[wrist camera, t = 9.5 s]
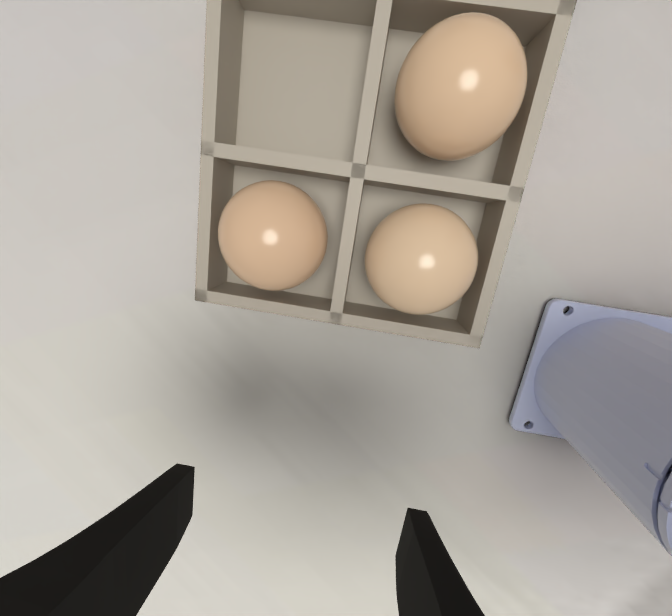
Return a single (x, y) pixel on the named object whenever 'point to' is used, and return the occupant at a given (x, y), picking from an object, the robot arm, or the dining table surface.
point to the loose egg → (460, 86)
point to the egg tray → (356, 146)
